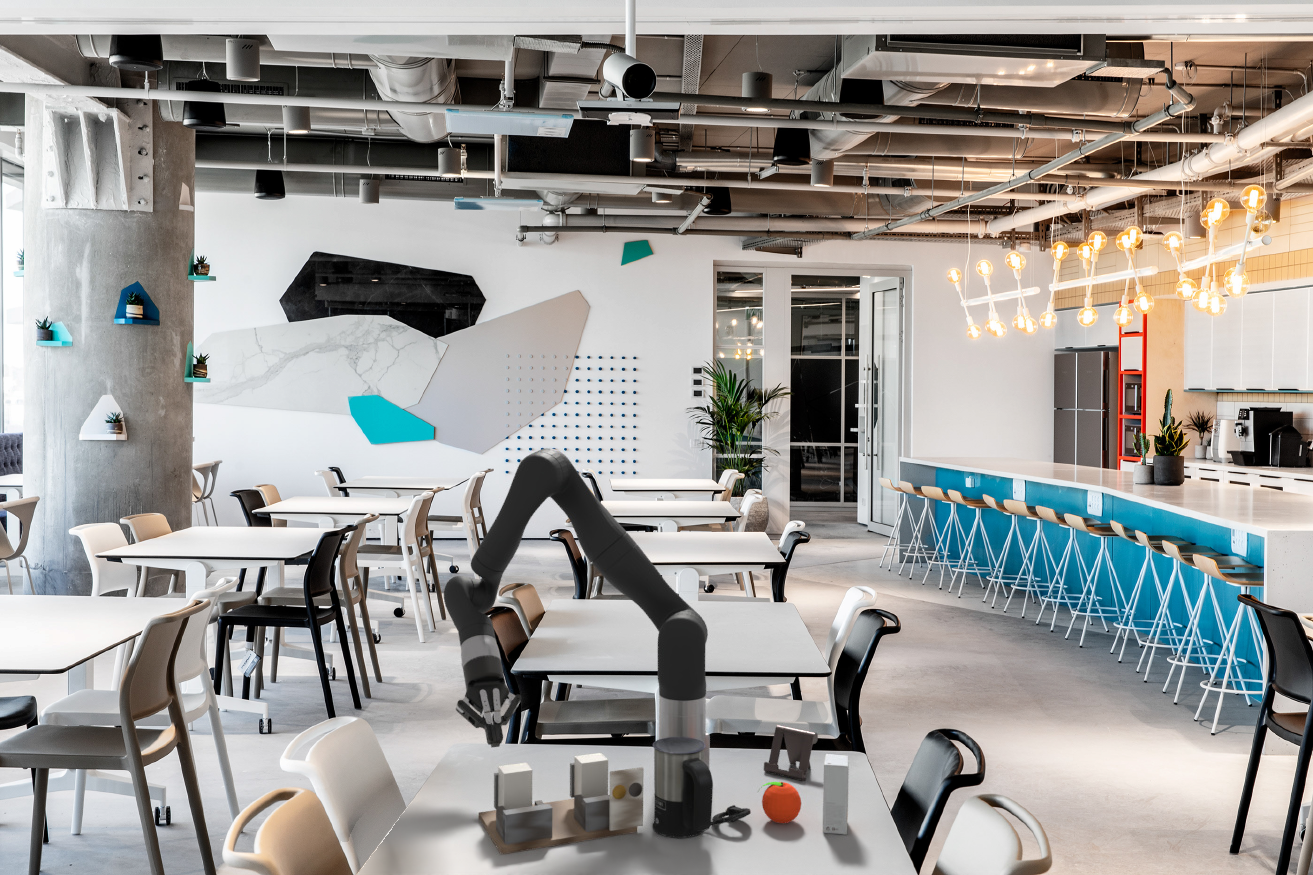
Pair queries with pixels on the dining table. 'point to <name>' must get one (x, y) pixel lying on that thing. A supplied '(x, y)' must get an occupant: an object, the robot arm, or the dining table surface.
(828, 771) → the skincare box
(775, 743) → the portable electronic device stand
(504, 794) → the button
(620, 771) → the button board
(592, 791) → the button
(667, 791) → the milk frother
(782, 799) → the clementine
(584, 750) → the dining table surface
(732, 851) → the dining table surface
